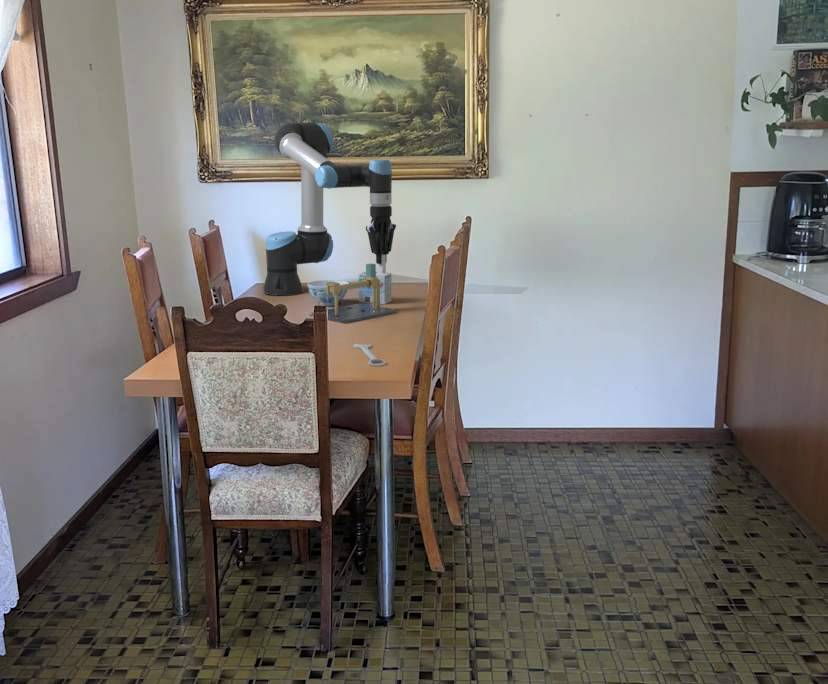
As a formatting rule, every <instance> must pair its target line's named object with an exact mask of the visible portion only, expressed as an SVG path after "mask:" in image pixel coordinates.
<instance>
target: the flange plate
mask: <svg viewBox="0 0 828 684" xmlns="http://www.w3.org/2000/svg"><path fill="white" fill-rule="evenodd" d="M327 310H328V321H332V322H336V323H341V324H348V323H349V324H350V323H353V322H358V321H363V320H369V319H373V317H374V318H377V316H379V317H382V315H383V316H387V314H388V315H393V314H396V312H397V309H392V308H388V307H384V306H383V307H382V306H380V307H375V308H374V307H373V304H369V303H364V302H359V303H355V304H349V305H344V306H338V316H335V307H334V308H328V309H327ZM313 312H314V311H313ZM313 312H311V313H312V315H313ZM392 313H393V314H392ZM368 318H369V319H368Z"/></svg>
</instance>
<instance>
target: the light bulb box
mask: <svg viewBox="0 0 828 684" xmlns="http://www.w3.org/2000/svg"><path fill="white" fill-rule="evenodd" d="M365 276H366V271H363V272H362V273H359V274H358V282H361V281H365ZM376 277H377V279H380V305H386V304H388V302H389V303H391V302H392V299H393V298H392V272H386V273H377V271H376ZM358 295H359V296H358V302H359V303H363V304H373V290H372V289H371V287H368V288H365V287H359V288H358ZM390 301H391V302H390Z"/></svg>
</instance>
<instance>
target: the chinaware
mask: <svg viewBox="0 0 828 684" xmlns="http://www.w3.org/2000/svg"><path fill="white" fill-rule="evenodd" d="M326 282H337V283H340V285H343V284H349V281H345V280H341V279H340V280H338V279H322V280H314V281H309V282H308V283H307V289H308V292H309V294H310V295H311V296H312V298H313V299H314V300H316V301H317V302H318V303H319V304H320V303H323V304H321V305H320V306H322V305H326V306H325V307H332V306H334V307H335V295H333V294H327V285H326ZM348 290H349V289H347V290H341V291H340V295H338V303H339V302H340V301H341V300H343V298H344V297H346V294H347V292H348Z"/></svg>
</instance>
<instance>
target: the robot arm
mask: <svg viewBox="0 0 828 684" xmlns="http://www.w3.org/2000/svg"><path fill="white" fill-rule="evenodd" d="M273 144H274V147H275V149H276V151H277V152H278V153H279V154H280V155H282V156H283V157H284V158H287V159H291V160H292V161H294V162H295V163H297V164H298V165H299V166H300V167H301V169H300V170H301V171H300V174H301V175H300V176H301V177H300V178H301V179H300V183H301V185H300V189H301V191H300V192H301V194H300V195H301V196H300V197H301V199H300V200H301V201H300V202H301V208H300V209H301V212H300V214H301V219H300V220H301V223H300V226H298V228H297V233H296V232H295V231H292V230H291V231H290V230H287V231H280V232H274V233H271V234H269V235H268V236H266V238H265V239H266V240H265V253H266V277H265V280H264V284H263V288H262V289H263V290H262V292H265V293H268V294H277V295H285V296H294V295H293V294H295V295H300V294H302V293H303V286H302V283H301V279H300V276H299V274H298V265H303V264H304V265H305V264H306V265H307V264H319V263H322V262H326V261H328V260H329V259H330V257H331V256H332V253H333V250H334V240H333V239H332V238H333V237H332V235H331V234H330V233H329V232H328V229H327V227H326V226H325V225H324V189H329V190H330V189H337V188H338V189H339V188H341V189H342V188H358V187H359V188H363V187H365V188H366V187H367V188H369V204H370V205H371V206H370V207H369V215H370V216H369V217H371V220H370V224H369V225H368V226H365V231H366V233H367V235H368V241H369V246H370V251H371V252H370V253H372V254H374V255H375V264H376V272H377V273H387V271H386V269H387V268H386V267H387V266H386V265H387V260H388V258H387V255H389V254H390V253H391V252H392V247H393V242H394V241H393V240H394V234H395V230H396V227H397V225H396V224H394V223H392V220H391V217H392V216H393V212H392V211H393V207H392V204H393V203H392V189H393V188H392V179H393V178H392V172H393V170H392V162H391V161H390V160H389V159H371V160H370V161H369V164H359V163H358V164H351V165H350V164H349V165H347V164H346V165H345V164H344V165H339V164H338V165H337V164H336V163H334V162H332V161H331V160H330V159H328V155H330V154H331V153H332V152H333V149H334V144H335V141H334V136H333V132H332V131H331V129H330V127H329V126H328V125H327V124H325V123H322V122H287V123H284V124H282V125H281V126H280V127H278V129H277V130H276V131H275V133H274V137H273Z"/></svg>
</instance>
